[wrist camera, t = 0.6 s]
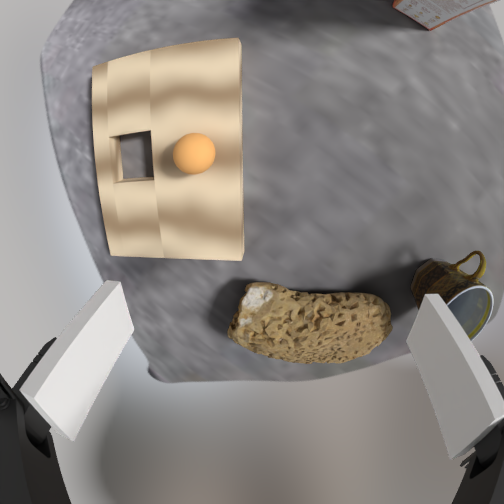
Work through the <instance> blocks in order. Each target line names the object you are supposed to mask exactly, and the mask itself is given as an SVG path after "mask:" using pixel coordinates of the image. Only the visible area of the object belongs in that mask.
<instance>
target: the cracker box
mask: <svg viewBox="0 0 504 504" xmlns="http://www.w3.org/2000/svg"><path fill="white" fill-rule="evenodd" d="M497 1H500V0H394V3H393V6H392V7H393V8H395V9H396V10H398V11H400V12H402V13H403V14H405V15H407V16H408V17H410V18H412V19H413V20H415V21H416V22H418V23H420V24H421V25H423V26H424V27H426V28H427V29H429V30H430V31H431V30H433V29H435V28H437V27H439V26H441V25H443V24H445V23H447V22H449V21H451V20H454V19H456V18H458V17H460V16H462V15H464V14H467V13H469V12H471V11H474V10H476V9H479V8H481V7H484V6H486V5H489V4H491V3H494V2H497Z"/></svg>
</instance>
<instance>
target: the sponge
mask: <svg viewBox="0 0 504 504" xmlns="http://www.w3.org/2000/svg"><path fill="white" fill-rule="evenodd" d="M245 291H246V292H247V293H246V294H245V295H244V296H243V297H242V298H241V299H240V303H239V306H238V309H239V311H237V312H236V313H235V314H234V316H233V320H232V323H231V322H230V325H229V329H228V331H227V332H228V337H229V338H231V339H233V341H234V342H235V343H237V344H239V345H241V346H243V347H245V348H247V349H249V350H251V351H252V352H254V353H258V354H263V355H265V356H268V358H275V359H282V360H284V361H288V362H293V363H295V362H296V363H305V364H312V362H314V361H315V362H320V363H325V362H327V363H333V362H334V363H343V362H347V361H350V360H353V359H355V358H357V357H362V356H363V355H366V354H369V353H370V352H371V350H372V349H373V348H375V347H376V346H379V345H380V343H381V342H382V341H383V340H385V339H386V338H387V336H388V335H389V334H390V332H391V331H392V325H391V319H390V318H391V311H390V307H389V305H388V304H387V303H385V302H384V301H383V300H382V299H381V298H379V297H378V296H376V295H373V294H367V293H350V292H348V293H343V292H340V293H331V294H308V292H302V293H301V292H298V291H291V290H289V289H287V288H285V287H283V286H281V285H278V284H273V283H265V282H255V283H250V284H248V285H246V288H245Z"/></svg>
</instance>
